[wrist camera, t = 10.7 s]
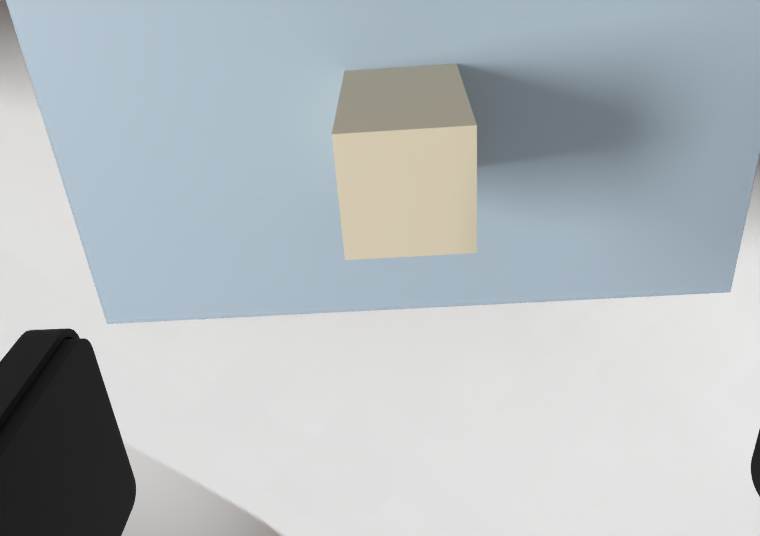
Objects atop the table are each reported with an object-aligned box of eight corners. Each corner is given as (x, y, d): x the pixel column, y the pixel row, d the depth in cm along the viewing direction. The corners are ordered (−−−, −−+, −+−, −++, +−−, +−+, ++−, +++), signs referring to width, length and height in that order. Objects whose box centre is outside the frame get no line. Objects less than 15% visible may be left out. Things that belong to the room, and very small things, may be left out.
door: (812, -257, 17) (1029, -314, 11) (711, 268, 24) (811, 396, 18) (-22, -188, 17) (-217, -209, 12) (121, 298, 25) (42, 430, 19)
